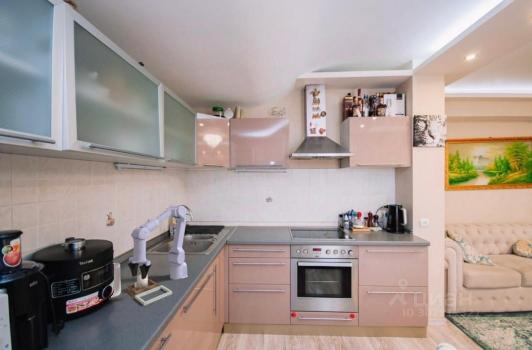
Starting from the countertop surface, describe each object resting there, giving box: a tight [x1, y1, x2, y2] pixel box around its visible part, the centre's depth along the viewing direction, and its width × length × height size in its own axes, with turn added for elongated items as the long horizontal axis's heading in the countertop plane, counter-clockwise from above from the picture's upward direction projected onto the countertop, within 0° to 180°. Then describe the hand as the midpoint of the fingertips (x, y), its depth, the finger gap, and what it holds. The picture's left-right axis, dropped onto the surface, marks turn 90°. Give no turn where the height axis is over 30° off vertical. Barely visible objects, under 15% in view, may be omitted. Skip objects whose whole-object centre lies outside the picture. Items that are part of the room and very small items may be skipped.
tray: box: [134, 285, 173, 308], centre depth 122 cm, size 14×11×2 cm
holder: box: [123, 278, 160, 299], centre depth 130 cm, size 14×14×3 cm
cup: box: [110, 262, 122, 299], centre depth 125 cm, size 8×8×16 cm
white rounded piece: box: [133, 273, 149, 290], centre depth 130 cm, size 7×5×7 cm
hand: (139, 277), depth 124 cm, fingers open, 7 cm apart
